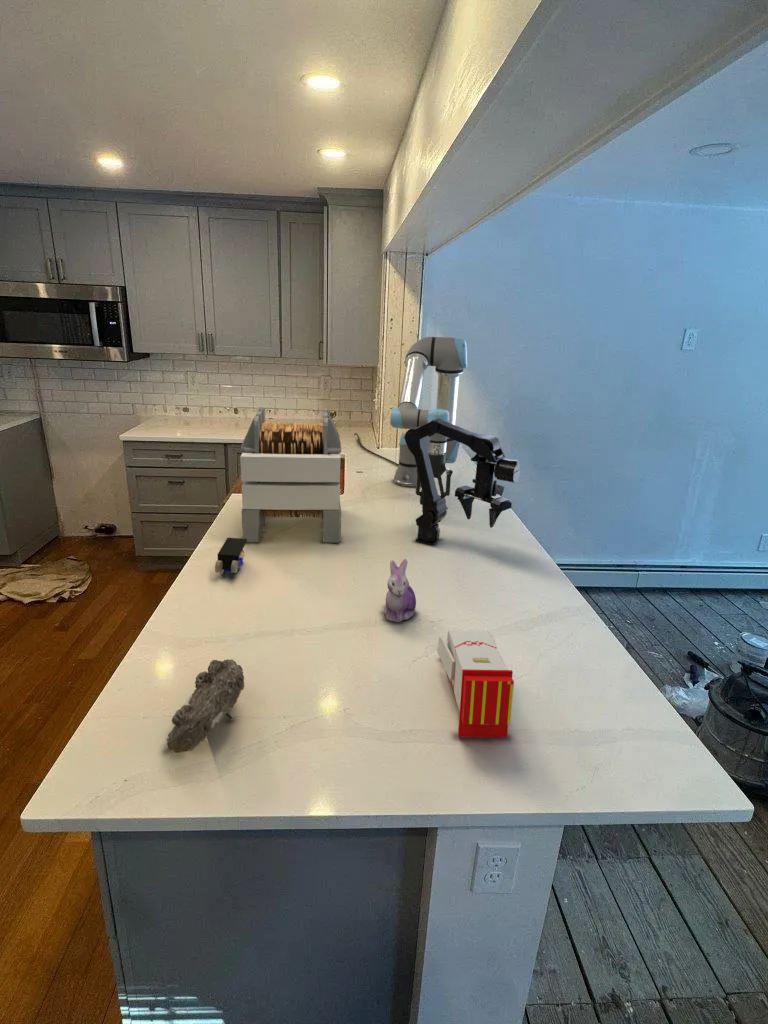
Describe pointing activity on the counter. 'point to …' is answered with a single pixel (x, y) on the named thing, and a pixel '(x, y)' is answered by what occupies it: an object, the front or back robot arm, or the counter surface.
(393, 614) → the figurine
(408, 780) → the counter surface
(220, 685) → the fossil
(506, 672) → the toy
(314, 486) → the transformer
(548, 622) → the counter surface
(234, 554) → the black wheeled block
